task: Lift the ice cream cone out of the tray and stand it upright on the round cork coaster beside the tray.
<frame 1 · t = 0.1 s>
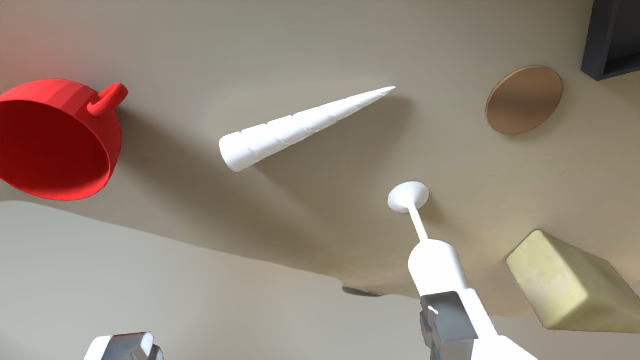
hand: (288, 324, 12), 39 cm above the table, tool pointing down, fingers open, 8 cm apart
cheese: (563, 253, 74), on the table
champagne flute: (407, 196, 62), on the table
unicorn horn: (301, 116, 51), on the table
ceramic cup: (93, 100, 48), on the table
coaster: (522, 101, 52), on the table
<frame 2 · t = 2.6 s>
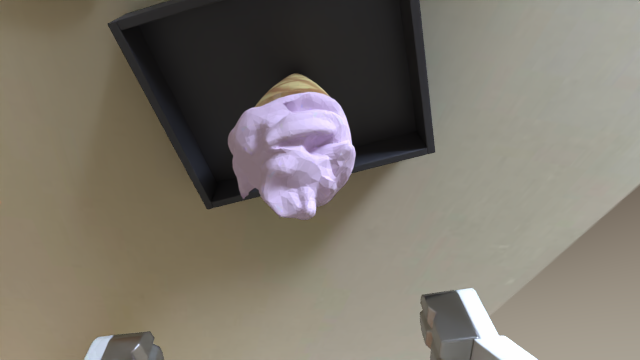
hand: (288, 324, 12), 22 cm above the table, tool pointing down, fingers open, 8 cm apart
tray: (290, 80, 30), on the table
ice cream cone: (291, 80, 30), resting on tray
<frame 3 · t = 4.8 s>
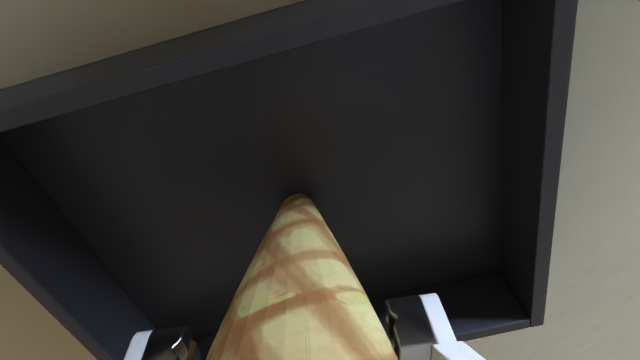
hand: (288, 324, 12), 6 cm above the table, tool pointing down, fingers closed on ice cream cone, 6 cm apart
tray: (289, 202, 17), on the table
ice cream cone: (289, 204, 17), resting on tray, touching gripper
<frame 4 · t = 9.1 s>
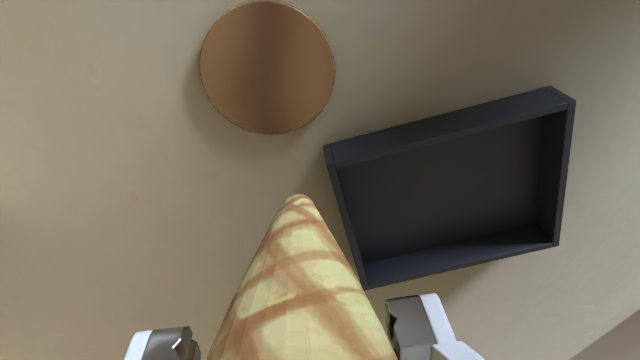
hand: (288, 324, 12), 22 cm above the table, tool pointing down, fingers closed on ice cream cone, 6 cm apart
tray: (441, 188, 36), on the table
coaster: (268, 72, 29), on the table
ice cream cone: (289, 204, 17), point 16 cm above the table, touching gripper
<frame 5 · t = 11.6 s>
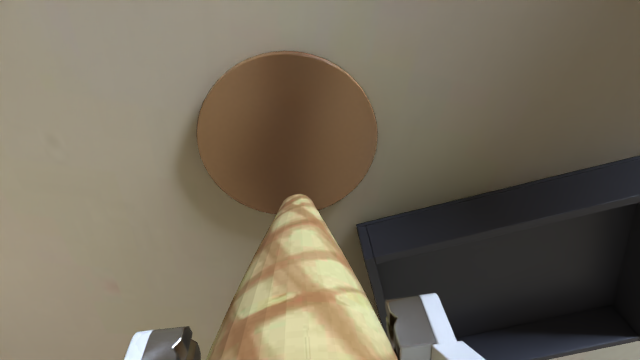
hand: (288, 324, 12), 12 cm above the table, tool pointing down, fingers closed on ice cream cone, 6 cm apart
tray: (500, 269, 29), on the table
coaster: (288, 140, 22), on the table
ice cream cone: (289, 204, 17), point 6 cm above the table, touching gripper
when the fingers open (6 cm above the table, at t = 13.7 s): ice cream cone stays where it is, resting on coaster.
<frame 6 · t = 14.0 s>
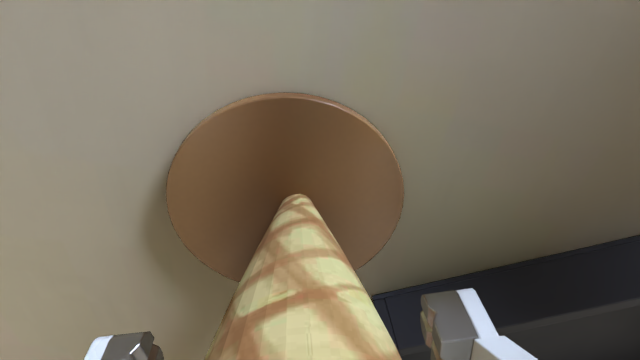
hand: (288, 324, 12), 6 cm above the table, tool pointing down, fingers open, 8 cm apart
tray: (544, 340, 24), on the table
coaster: (287, 202, 17), on the table
ice cream cone: (288, 204, 17), resting on coaster
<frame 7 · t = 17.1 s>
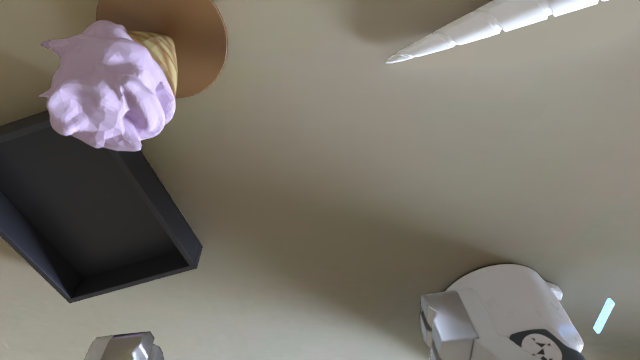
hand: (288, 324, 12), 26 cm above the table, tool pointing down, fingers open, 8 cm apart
tray: (91, 200, 39), on the table
coaster: (164, 37, 31), on the table
ice cream cone: (165, 38, 31), resting on coaster
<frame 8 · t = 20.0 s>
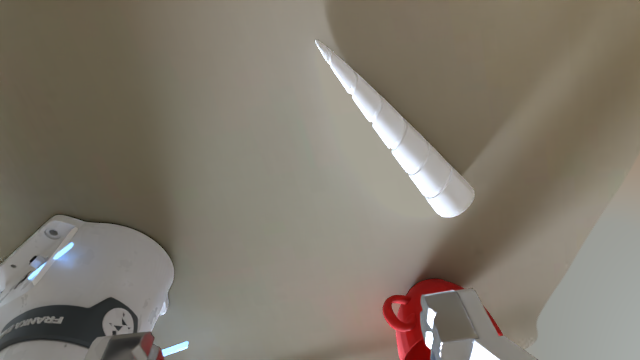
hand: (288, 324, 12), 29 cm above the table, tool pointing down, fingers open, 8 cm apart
unicorn horn: (393, 131, 41), on the table
ceramic cup: (419, 288, 55), on the table
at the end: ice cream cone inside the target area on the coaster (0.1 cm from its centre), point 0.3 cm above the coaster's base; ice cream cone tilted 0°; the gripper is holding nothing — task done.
